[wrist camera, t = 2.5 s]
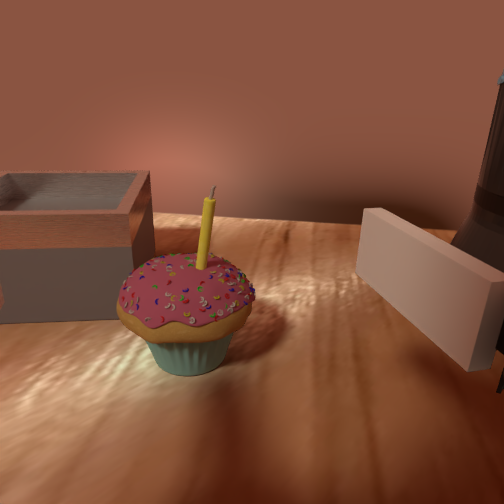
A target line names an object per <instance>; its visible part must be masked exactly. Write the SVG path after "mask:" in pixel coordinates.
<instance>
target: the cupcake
mask: <svg viewBox="0 0 504 504" xmlns="http://www.w3.org/2000/svg"><path fill="white" fill-rule="evenodd" d="M215 187H216V186H215V185H213V186H212V188H211V193H210V196H209V197H206V198H205V199H204V206H203V213H202V221H201V229H200V237H199V245H198V253H196V252H195V254H192V253H191V254H189V253H188V254H185V253H183V254H181V253H178V254H176V255H175V254H170V253H169V255H168V256H167V255H161V256H160V257H159V256H158V257H159V258H158V257H157V258H155V257H154V258H152V259H151V260H149V261H147V262H146V263H144V264H142V265H140V267H139V268H138V269H133V271H134V272H133V271H132V273H129V274H130V276H128V278H127V279H126V280H124V282H123V285H122V287H121V289H120V293H119V298H118V301H117V314H118V317H119V319H120V320H121V322H122V323H123V324H124V325H125V326H126V328H128V329H129V330H131V331H132V332H134V333H135V334H137V335H138V336H140V337H141V338H143V339H144V340H145V341H146V342H147V344H148V346H149V348H150V350H151V352H152V354H153V356H154V358H155V361H156V363H157V364H158V366H159V367H160V368H161V369H163V370H164V371H166V372H168V373H171V374H174V375H179V376H195V375H200V374H204V373H207V372H209V371H211V370H213V369H215V368H216V367H217V366H219V365H220V364H221V362H222V361H223V360H224V358H225V355H226V352H227V349H228V346H229V343H230V340H231V338H232V335H233V333H234V332H235V331H237V330H239V329H241V328H242V327H243V325H244V324H245V322H246V319H247V317H248V316H249V315H250V313H251V309H252V301H254V300H255V293H256V292H255V289H254V288H253V283H251V284H250V282H249V281H248V280H247V278H246V275H245V274H244V273H242V272H241V270H240V269H237V268H236V267H235V266H234V265H232V264H231V262H229V261H227V260H226V261H225V260H224V259H223V258H222V257H220V258H219V257H217V256H214V255H212V253H211V254H210V253H209V246H210V239H211V231H212V224H213V217H214V210H215V203H216V200H215V199H214V198H213V195H214V190H215Z"/></svg>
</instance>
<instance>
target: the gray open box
mask: <svg viewBox="0 0 504 504" xmlns="http://www.w3.org/2000/svg"><path fill="white" fill-rule="evenodd" d="M122 199H123V198H60V199H12V200H11V201H9V202H8V203H6V204H5V205H3V206H2V207H1V208H0V211H29V210H114V209H117V207H118V206H119V204H120V202H121V201H122ZM154 252H155V239H154V225H153V211H152V197H150V200H149V202H148V205H147V208H146V210H145V213H144V215H143V218H142V221H141V223H140V226H139V228H138V231H137V234H136V236H135V239H134V241H133V244H132V247H93V248H46V249H0V283H1V288H2V293H3V298H4V304H3V306H2V307H1V309H0V324H7V323H32V322H57V321H82V320H107V319H119V317H118V314H117V301H118V298H119V293H120V289H121V287H122V285H123V282H124V280H126V279H127V278H128V276H130V274H129V273H132V271H133V269H138V268H139V267H140V265H142V264H144V263H146V262H147V261H149V260H151V259H152V258H153V256H154ZM133 272H134V271H133Z"/></svg>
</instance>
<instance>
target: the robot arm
mask: <svg viewBox="0 0 504 504" xmlns="http://www.w3.org/2000/svg"><path fill="white" fill-rule="evenodd" d="M497 84H498V85H500V88H499V92H498V96H497V101H496V105H495V110H494V114H493V119H492V123H491V128H490V132H489V136H488V141H487V145H486V150H485V154H484V158H483V162H482V166H481V171H480V175H479V178H478V183H477V187H476V192H475V196H474V201H473V205H472V208H471V210H470V212H469V214H468V216H467V217H466V219H465V220H464V222H463V223H462V225H461V227H460V228H459V230H458V231H457V233H456V235H455V236H454V238H453V240H452V242H451V243H450V244H448V243H446V242H445V241H443V240H441V239H439V238H437V237H435V236H433V235H431V234H430V233H428V232H426V231H424V230H422V229H420V228H418V227H416V226H415V225H413V224H411V223H409V222H407V221H405V220H403V219H401V218H400V217H398V216H396V215H394V214H392V213H390V212H388V211H386V210H385V209H383V208H370V209H369V208H367V209H364V213H363V220H362V227H361V235H360V242H359V249H358V257H357V264H356V271H355V273H356V274H357V275H358V276H360V277H361V278H362V279H363V280H364V281H365V282H366V283H367V284H369V285H370V286H371V287H372V288H373V289H374V290H375V291H376V292H378V293H379V294H380V295H381V296H382V297H383V298H384V299H385V300H387V301H388V302H389V303H390V304H391V305H392V306H393V307H394V308H396V309H397V310H398V311H399V312H400V313H401V314H402V315H403V316H405V317H406V318H407V319H408V320H409V321H410V322H411V323H412V324H414V325H415V326H416V327H417V328H418V329H419V330H420V331H422V332H423V333H424V334H425V335H426V336H427V337H428V338H429V339H431V340H432V341H433V342H434V343H435V344H436V345H437V346H438V347H440V348H441V349H442V350H443V351H444V352H445V353H446V354H447V355H449V356H450V357H451V358H452V359H453V360H454V361H455V362H456V363H458V364H459V365H460V366H461V367H462V368H463V369H464V370H465V371H467V372H472V371H479V370H485V369H491V365H492V362H493V358H494V355H495V352H496V349H497V350H498V351H500V352H501V353H502V354H503V355H504V70H503V73H502V76H500V77H499V79H498V83H497ZM3 304H4V298H3V293H2V288H1V283H0V309H1V307H2V306H3ZM502 389H504V368H503V371H502V375H501V378H500V381H499V385H498V388H497V391H496V393H500V394H501V392H502Z"/></svg>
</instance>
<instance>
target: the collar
mask: <svg viewBox="0 0 504 504" xmlns="http://www.w3.org/2000/svg"><path fill="white" fill-rule="evenodd" d="M150 197H151V183H150V171H0V208H1V207H2V206H3V205H5V204H6V203H8V202H9V201H11V200H12V199H60V198H123V199H122V201H121V202H120V204H119V206H118V207H117V209H114V210H29V211H0V249H46V248H93V247H132V244H133V241H134V239H135V236H136V234H137V231H138V228H139V226H140V223H141V221H142V218H143V215H144V213H145V210H146V208H147V205H148V202H149V200H150Z"/></svg>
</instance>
